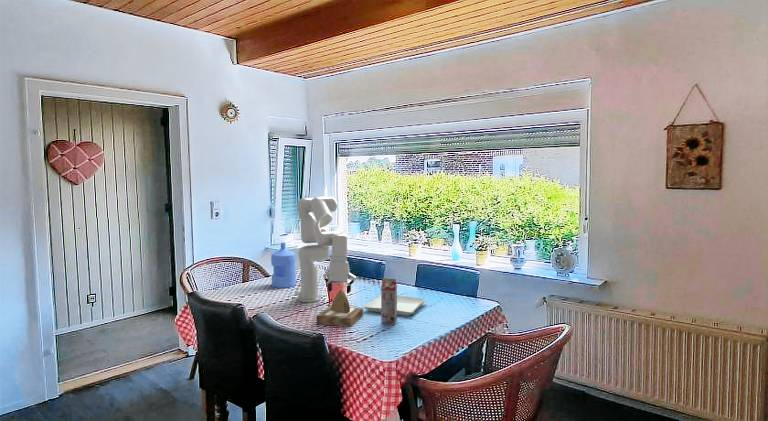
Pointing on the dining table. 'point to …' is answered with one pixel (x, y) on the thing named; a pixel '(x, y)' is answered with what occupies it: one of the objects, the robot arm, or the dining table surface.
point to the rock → (340, 303)
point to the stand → (339, 317)
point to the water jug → (283, 268)
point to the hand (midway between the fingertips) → (339, 292)
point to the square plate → (403, 305)
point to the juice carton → (388, 301)
